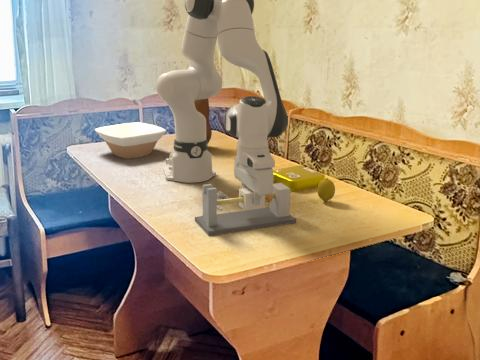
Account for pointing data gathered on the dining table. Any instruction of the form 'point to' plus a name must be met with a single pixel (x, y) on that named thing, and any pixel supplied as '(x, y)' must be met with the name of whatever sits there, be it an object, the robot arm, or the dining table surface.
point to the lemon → (326, 190)
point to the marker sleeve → (250, 199)
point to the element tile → (298, 178)
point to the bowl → (131, 138)
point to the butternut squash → (204, 108)
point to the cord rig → (244, 212)
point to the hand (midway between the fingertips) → (251, 201)
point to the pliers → (221, 196)
